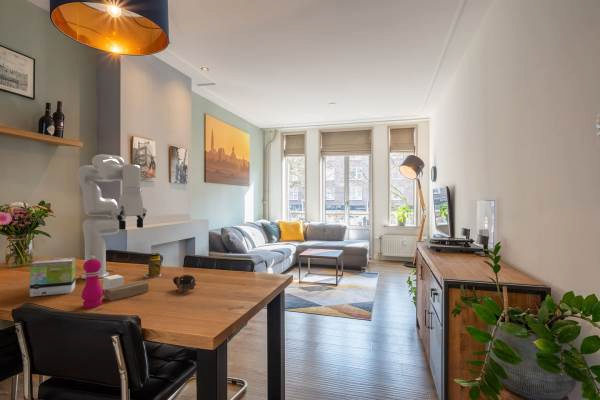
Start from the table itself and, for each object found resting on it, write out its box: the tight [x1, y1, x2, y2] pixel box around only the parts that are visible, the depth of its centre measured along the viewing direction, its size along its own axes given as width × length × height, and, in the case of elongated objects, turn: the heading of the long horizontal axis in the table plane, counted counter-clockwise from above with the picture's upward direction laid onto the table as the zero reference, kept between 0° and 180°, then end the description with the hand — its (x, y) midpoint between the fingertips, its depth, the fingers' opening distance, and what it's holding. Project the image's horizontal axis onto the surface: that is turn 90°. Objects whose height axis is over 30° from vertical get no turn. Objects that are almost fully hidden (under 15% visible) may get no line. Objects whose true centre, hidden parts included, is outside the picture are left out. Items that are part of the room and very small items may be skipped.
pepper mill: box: [81, 255, 104, 309], centre depth 125 cm, size 7×7×20 cm
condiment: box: [143, 252, 163, 278], centre depth 173 cm, size 7×8×12 cm
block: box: [102, 274, 125, 291], centre depth 147 cm, size 7×6×6 cm
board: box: [103, 280, 149, 302], centre depth 139 cm, size 6×16×4 cm, turn 144°
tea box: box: [29, 257, 77, 298], centre depth 142 cm, size 15×10×15 cm
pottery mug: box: [172, 274, 197, 294], centre depth 146 cm, size 12×10×8 cm
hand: (131, 228), depth 145 cm, fingers open, 9 cm apart
